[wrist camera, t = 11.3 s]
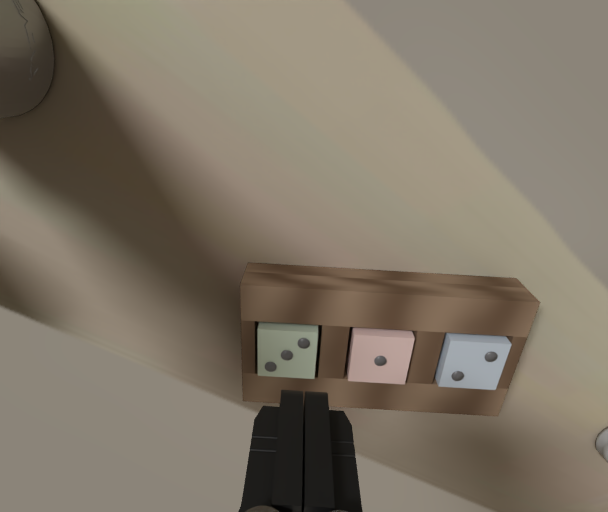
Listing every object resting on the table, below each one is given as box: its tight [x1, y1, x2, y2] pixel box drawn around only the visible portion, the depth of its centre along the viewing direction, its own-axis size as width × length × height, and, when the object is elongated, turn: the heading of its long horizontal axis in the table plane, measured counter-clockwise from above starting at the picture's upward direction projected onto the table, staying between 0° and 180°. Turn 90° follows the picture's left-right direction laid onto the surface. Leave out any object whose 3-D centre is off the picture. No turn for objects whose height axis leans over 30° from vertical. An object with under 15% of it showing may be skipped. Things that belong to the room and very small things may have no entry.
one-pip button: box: [346, 327, 415, 384], centre depth 30 cm, size 4×4×2 cm
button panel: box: [240, 263, 540, 416], centre depth 31 cm, size 21×11×4 cm, turn 87°
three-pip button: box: [258, 321, 318, 379], centre depth 30 cm, size 4×4×2 cm
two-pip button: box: [434, 332, 512, 390], centre depth 29 cm, size 4×4×2 cm
